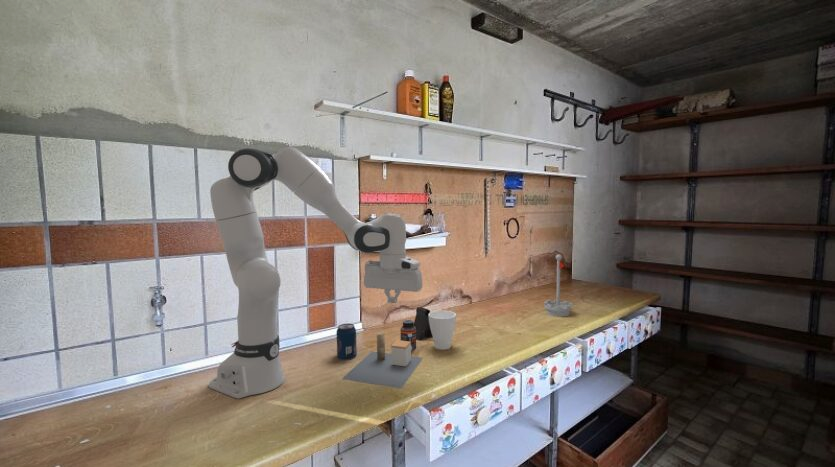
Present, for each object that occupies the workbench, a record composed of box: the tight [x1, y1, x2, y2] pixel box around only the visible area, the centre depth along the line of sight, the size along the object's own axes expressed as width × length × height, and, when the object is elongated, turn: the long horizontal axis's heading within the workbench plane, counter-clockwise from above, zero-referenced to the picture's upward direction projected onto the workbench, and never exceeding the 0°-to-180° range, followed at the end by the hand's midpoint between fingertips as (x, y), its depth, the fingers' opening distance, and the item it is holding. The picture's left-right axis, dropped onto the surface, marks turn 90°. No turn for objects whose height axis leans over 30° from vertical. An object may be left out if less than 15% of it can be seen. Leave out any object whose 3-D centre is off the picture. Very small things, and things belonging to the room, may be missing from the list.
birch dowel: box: [376, 332, 386, 361], centre depth 125 cm, size 3×3×9 cm
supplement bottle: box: [400, 319, 417, 352], centre depth 134 cm, size 6×6×11 cm
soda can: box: [336, 323, 358, 361], centre depth 128 cm, size 7×7×12 cm
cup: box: [428, 309, 457, 351], centre depth 135 cm, size 10×10×14 cm
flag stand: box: [543, 253, 573, 318], centre depth 177 cm, size 13×13×30 cm
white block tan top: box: [390, 339, 412, 366], centre depth 121 cm, size 5×5×7 cm
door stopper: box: [413, 306, 433, 341], centre depth 149 cm, size 9×6×12 cm, turn 126°
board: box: [341, 351, 424, 389], centre depth 118 cm, size 20×22×1 cm
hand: (392, 302), depth 120 cm, fingers closed
